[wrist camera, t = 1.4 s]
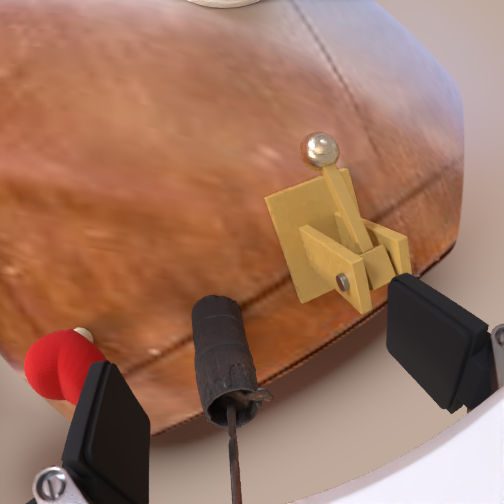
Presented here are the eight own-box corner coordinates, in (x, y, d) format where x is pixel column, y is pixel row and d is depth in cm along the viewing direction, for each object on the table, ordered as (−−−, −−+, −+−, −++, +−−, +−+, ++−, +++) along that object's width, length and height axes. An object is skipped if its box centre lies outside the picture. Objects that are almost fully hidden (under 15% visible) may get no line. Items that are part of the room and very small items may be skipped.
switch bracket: (263, 197, 29) (310, 222, 18) (342, 167, 30) (418, 177, 19) (298, 299, 33) (346, 362, 22) (366, 267, 34) (431, 312, 23)
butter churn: (256, 255, 31) (444, 529, 4) (273, 332, 34) (395, 563, 8) (168, 280, 30) (161, 607, 3) (195, 354, 33) (237, 610, 6)
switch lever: (290, 148, 24) (296, 131, 21) (322, 138, 25) (332, 120, 21) (354, 292, 23) (370, 293, 20) (386, 276, 24) (404, 275, 20)
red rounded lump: (122, 312, 30) (102, 372, 20) (123, 363, 31) (110, 426, 22) (46, 300, 27) (6, 350, 18) (53, 351, 29) (25, 406, 20)
